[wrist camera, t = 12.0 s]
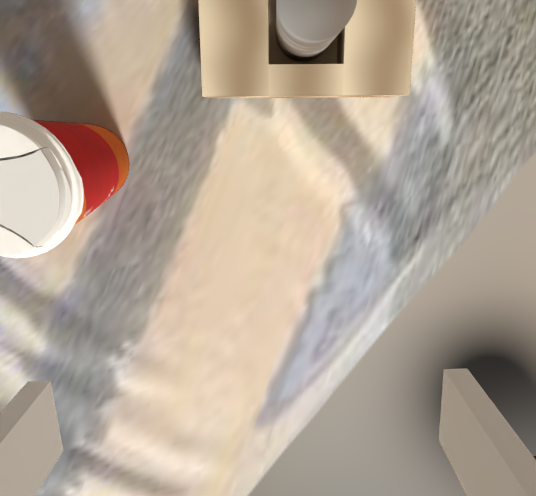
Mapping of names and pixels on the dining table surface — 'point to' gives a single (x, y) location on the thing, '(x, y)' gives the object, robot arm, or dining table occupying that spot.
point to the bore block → (306, 48)
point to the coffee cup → (52, 179)
